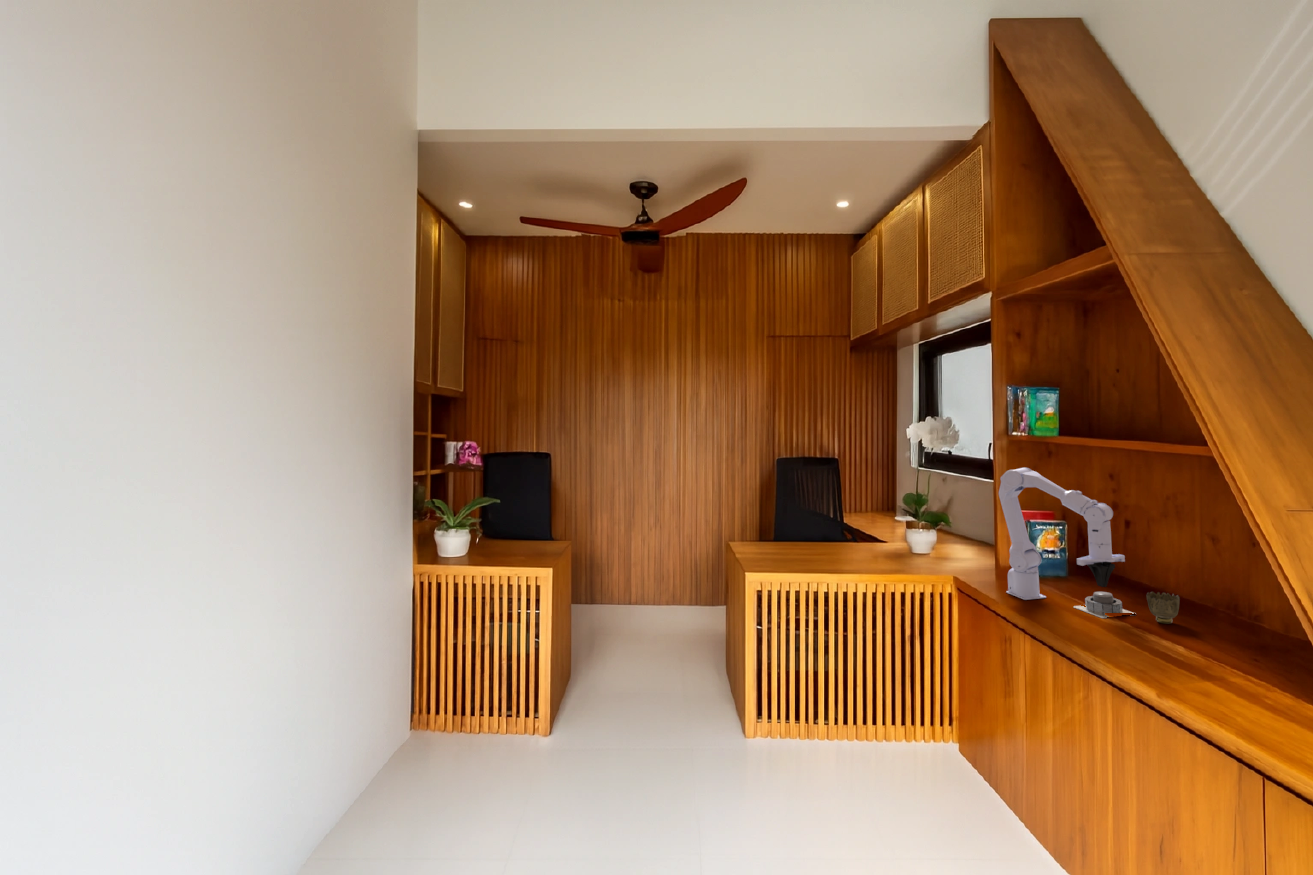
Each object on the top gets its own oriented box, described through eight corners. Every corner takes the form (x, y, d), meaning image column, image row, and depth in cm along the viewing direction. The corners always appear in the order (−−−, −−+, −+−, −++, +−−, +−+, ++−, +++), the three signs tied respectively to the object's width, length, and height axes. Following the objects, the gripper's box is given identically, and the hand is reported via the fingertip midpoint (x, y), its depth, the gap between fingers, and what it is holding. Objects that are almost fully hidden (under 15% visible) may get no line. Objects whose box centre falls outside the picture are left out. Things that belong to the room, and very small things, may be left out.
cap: (1089, 608, 184) (1088, 592, 184) (1103, 606, 185) (1102, 590, 185) (1104, 613, 179) (1103, 596, 179) (1118, 610, 180) (1117, 594, 180)
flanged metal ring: (1073, 607, 187) (1072, 596, 187) (1104, 604, 188) (1104, 593, 188) (1102, 618, 176) (1102, 607, 176) (1136, 614, 177) (1135, 603, 177)
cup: (1178, 628, 165) (1176, 600, 164) (1145, 623, 170) (1143, 595, 170) (1183, 621, 169) (1182, 594, 169) (1150, 616, 175) (1149, 589, 175)
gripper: (1089, 547, 177) (1091, 591, 177) (1132, 543, 178) (1135, 587, 179) (1070, 542, 184) (1072, 585, 184) (1112, 538, 185) (1114, 581, 186)
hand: (1102, 586), depth 182 cm, fingers closed
